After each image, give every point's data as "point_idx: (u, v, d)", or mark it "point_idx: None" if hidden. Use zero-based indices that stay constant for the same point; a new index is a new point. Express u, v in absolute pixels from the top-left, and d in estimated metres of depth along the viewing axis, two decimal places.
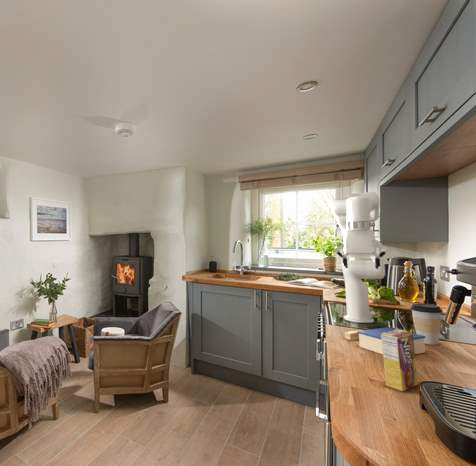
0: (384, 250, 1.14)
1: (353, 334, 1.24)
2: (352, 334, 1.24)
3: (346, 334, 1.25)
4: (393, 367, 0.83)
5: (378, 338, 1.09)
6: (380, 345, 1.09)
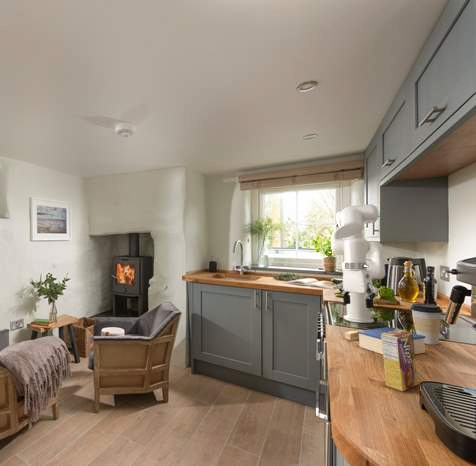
0: (374, 291, 1.20)
1: (353, 334, 1.24)
2: (352, 334, 1.24)
3: (346, 334, 1.25)
4: (393, 367, 0.83)
5: (378, 338, 1.09)
6: (380, 345, 1.09)
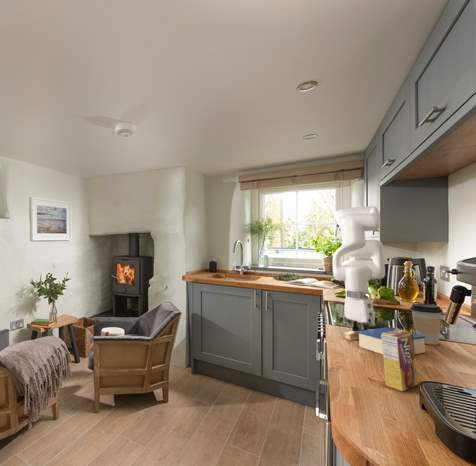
0: (369, 324, 1.22)
1: (353, 334, 1.24)
2: (352, 334, 1.24)
3: (346, 334, 1.25)
4: (393, 367, 0.83)
5: (378, 338, 1.09)
6: (380, 345, 1.09)
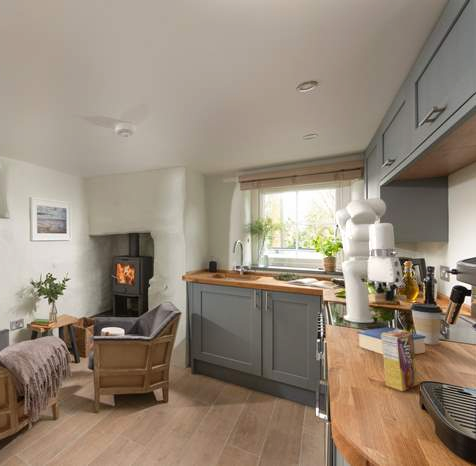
0: (396, 284, 1.11)
1: (378, 296, 1.13)
2: (377, 296, 1.13)
3: (371, 296, 1.14)
4: (393, 367, 0.83)
5: (378, 338, 1.09)
6: (380, 345, 1.09)
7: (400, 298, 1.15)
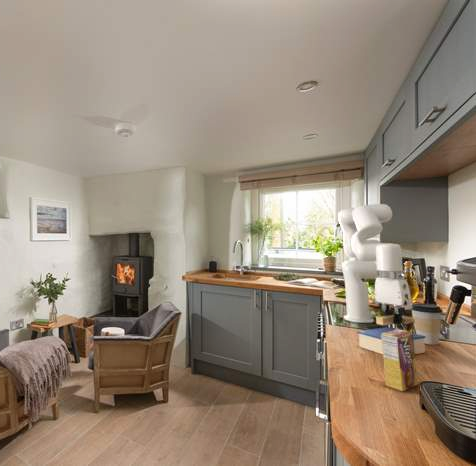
0: (405, 307, 1.09)
1: (386, 319, 1.11)
2: (385, 319, 1.11)
3: (378, 319, 1.12)
4: (393, 367, 0.83)
5: (378, 338, 1.09)
6: (380, 345, 1.09)
7: (409, 321, 1.12)
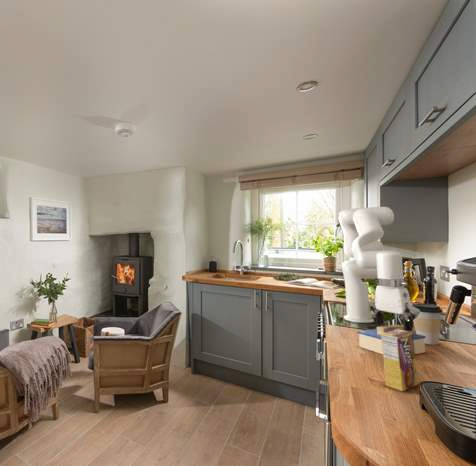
0: (414, 313, 1.06)
1: (387, 329, 1.11)
2: (386, 329, 1.10)
3: (379, 329, 1.12)
4: (393, 367, 0.83)
5: (378, 338, 1.09)
6: (380, 345, 1.09)
7: (409, 331, 1.12)
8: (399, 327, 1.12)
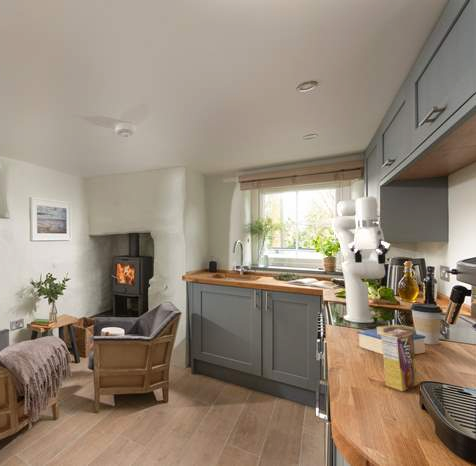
0: (386, 246, 1.22)
1: (387, 329, 1.11)
2: (386, 329, 1.10)
3: (379, 329, 1.12)
4: (393, 367, 0.83)
5: (378, 338, 1.09)
6: (380, 345, 1.09)
7: (409, 331, 1.12)
8: (399, 327, 1.12)
